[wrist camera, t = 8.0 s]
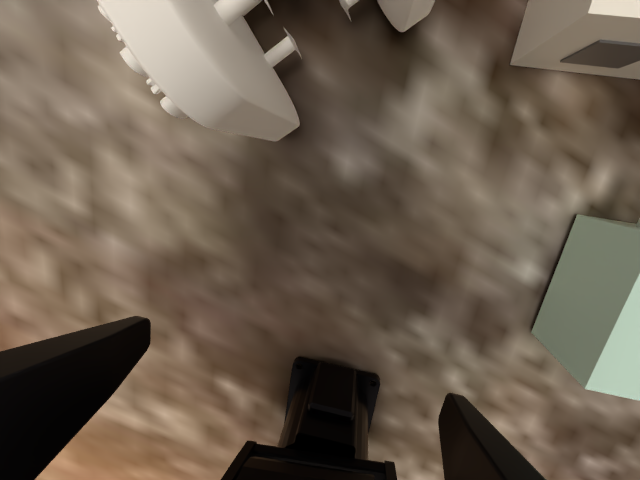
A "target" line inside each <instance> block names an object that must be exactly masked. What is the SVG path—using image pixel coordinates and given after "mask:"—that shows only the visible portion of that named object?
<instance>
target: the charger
mask: <svg viewBox="0 0 640 480" xmlns="http://www.w3.org/2000/svg"><path fill="white" fill-rule="evenodd" d="M531 333H532V334H533V335H534V336H535V337H536V338H537V339H538V340H539V341H540V342H541V343H542V344H543V345H544V346H545V347H546V348H547V350H548V351H549V352H550V353H551V354H552V355H553V356H554V357H555V358H556V359H557V360H558V361H559V362H560V363H561V364H562V365H563V366H564V367H565V369H566V370H567V371H568V372H569V373H570V374H571V375H572V376H573V377H574V378H575V379H576V380H577V381H578V382H579V383H580V384H581V385H582V387H583V388H584V389H588V390H593V391H597V392H602V393H606V394H611V395H616V396H620V397H625V398H629V399H634V400H639V401H640V218H639V220H638V222H637V224H635V223H629V222H622V221H616V220H610V219H604V218H597V217H591V216H585V215H578V214H577V216H576V219H575V222H574V224H573V227H572V229H571V232H570V234H569V237H568V239H567V242H566V245H565V247H564V250H563V252H562V255H561V257H560V260H559V262H558V265H557V268H556V270H555V273H554V275H553V278H552V280H551V283H550V285H549V288H548V291H547V293H546V296H545V298H544V301H543V303H542V306H541V309H540V311H539V314H538V316H537V319H536V321H535V324H534V326H533V329H532V332H531Z"/></svg>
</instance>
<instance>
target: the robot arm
mask: <svg viewBox="0 0 640 480" xmlns="http://www.w3.org/2000/svg"><path fill="white" fill-rule="evenodd" d="M150 329H151V323H150V320H149V319H148V318H144V317H140V316H133V317H129V318H126V319H122V320H118V321H114V322H111V323H107V324H103V325H99V326H95V327H92V328H88V329H84V330H80V331H76V332H73V333H69V334H65V335H61V336H58V337H54V338H50V339H46V340H42V341H39V342H35V343H31V344H27V345H24V346H20V347H16V348H12V349H8V350H5V351H1V352H0V480H35V478H36V477H37V476H38V475H39V474H40V473H41V472H42V471H43V470H44V469H45V468H46V467H47V465H48V464H49V463H50V462H51V461H52V460H53V459H54V458H55V457H56V456H57V455H58V453H59V452H60V451H61V450H62V449H63V448H64V447H65V446H66V445H67V444H68V443H69V442H70V440H71V439H72V438H73V437H74V436H75V435H76V434H77V433H78V432H79V431H80V430H81V428H82V427H83V426H84V425H85V424H86V423H87V422H88V421H89V420H90V419H91V418H92V417H93V415H94V414H95V413H96V412H97V411H98V410H99V409H100V408H101V407H102V406H103V405H104V403H105V402H106V401H107V400H108V399H109V398H110V397H111V396H112V394H113V393H114V392H115V391H116V390H117V388H118V387H119V386H120V385H121V383H122V382H123V381H124V379H125V378H126V377H127V375H128V374H129V373H130V372H131V370H132V369H133V368H134V366H135V365H136V364H137V363H138V361H139V360H140V359H141V357H142V356H143V355H144V353H145V352H146V351H147V349H148V347H149V345H150ZM298 364H301V365H302V366H299V365H298ZM370 381H376V382H374V383H372V382H370ZM379 387H380V378H379V377H378V376H377V375H375V374H372V373H367V372H363V371H359V370H354V369H350V368H346V367H341V366H337V365H333V364H328V363H324V362H319V361H315V360H310V359H306V358H301V357H298V358H296V359H295V360H294V363H293V367H292V374H291V381H290V388H289V395H288V402H287V409H286V416H285V424H284V427H283V430H282V433H281V437H280V440H279V443H278V446H277V447H275V446H269V445H262V444H257V442H255V441H247V442H246V443H245V445H244V446H243V448H242V449H241V451H240V452H239V453H238V455H237V456H236V458H235V459H234V461H233V462H232V464H231V465H230V467H229V468H228V470H227V471H226V473H225V474H224V476H223V477H222V479H221V480H397V476H396V470H395V464H394V462H391V461H384V463H383V462H377V461H370V460H368V432H369V428H370V424H371V420H372V416H373V412H374V407H375V403H376V399H377V395H378V391H379ZM438 424H439V434H440V443H441V451H442V460H443V469H444V478H445V480H546V479H545V478H544V477H543V476H542V475H541V474H540V473H539V472H538V471H537V470H536V469H535V468H534V467H533V466H532V465H531V464H530V463H529V462H528V461H527V460H526V459H525V458H524V457H523V456H522V455H521V454H520V453H519V452H518V451H517V450H516V449H515V448H514V447H513V446H512V445H511V444H510V443H509V441H508V440H507V439H506V438H505V437H504V436H503V435H502V434H501V433H500V432H499V431H498V430H497V429H496V428H495V427H494V426H493V425H492V424H491V423H490V422H489V421H488V420H487V419H486V418H485V417H484V416H483V415H482V414H481V413H480V412H479V411H478V410H477V409H476V408H475V407H474V406H473V405H472V404H471V403H470V402H469V401H468V400H467V399H466V398H465V397H464V396H462V395H458V394H453V393H448V394H447V395H446V397H445V400H444V403H443V406H442V409H441V412H440V415H439V421H438Z"/></svg>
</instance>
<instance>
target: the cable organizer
mask: <svg viewBox="0 0 640 480" xmlns="http://www.w3.org/2000/svg"><path fill="white" fill-rule="evenodd" d="M261 1H262V0H97V2H98V3H99V6H98V9H99V11H100V12H101V13H102V14H103V16H104V17H105V18H107V19H108V20H109V21H110V22H111V23H112V25H113V26H112V27H111V28H112V30H113V31H114V32H116V33H118V34H117V35H116V37H117V38H118V40H119V41H121V42H124V43H125V45H126V47H125V48H124V49H123V50H122V51H121V52H119V53H120V54H121V56H122V57H123V59H124V60H125V62H126V63H127V64H128V66H129V67H130V68H131V69H133V70H134V71H135V72H137V73H138V74H140V75H142V76H145V77H150V78H149V79H148V80H147V81H146V82H147V84H148V85H151V86H152V87H151V90H152V92H153V93H154V94H158V93H160V92H161V91H162V92H163V93H164V94H165V95H166V96H165V97H164V98H163V99H162V100H161V101H160V104H161V106H162V107H163V108H164V110H165V111H167V112H168V113H169V114H171V115H172V116H175V117H177V118H180V119H187V118H188V117H190V118H191V119H192V120H194V121H195V122H197V123H198V124H200V125H202V126H204V127H206V128H209V129H213V130H218V131H223V132H228V133H233V134H239V135H244V136H249V137H254V138H259V139H265V140H270V141H275V142H276V141H279V140H280V139H281V138H283V137H284V136H286V135H287V134H289V133H290V132H292V131H293V130H295V129H296V128H297V127H299V125H300V121H299V117H298V114H297V112H296V109H295V107H294V105H293V103H292V101H291V99H290V97H289V95H288V93H287V91H286V89H285V87H284V86H283V84H282V82H281V81H280V79H279V77H278V75H277V74H276V72H275V70H274V69H273V67H274V66H275V65H276V64H278V63H279V62H280V61H282V60H283V59H284V58H285V57H287V56H288V55H289V54H291V53H292V52H293V51H294V50H296V51H297V52H298V53H299V55H300V52H299V49H298V47H297V44H296V42H295V40H294V39H293V37H292V36H291V35H290V34H289V33H288V31H287V30H286V29H285V28H284V30H285V32H286V33H287V35H288V36H287V37H285V38H284V39H283V40H282V41H280V42H279V43H278V44H277V45H275V46H274V47H273V48H272V49H270V50H269V51H268V52H267V53H264V51H263V50H262V48H261V46H260V44H259V43H258V41H257V39H256V38H255V36H254V34H253V32H252V31H251V29H250V27H249V26H248V24H247V22H246V20H245V19H244V17H243V16H244V15H246V14H247V13H248V12H250V11H251V10H252V9H253V8H254V7H255V6H257V5H258V4H259V3H260V2H261ZM264 1H265V3H266V4H267V6H268V8H269V9H270V11H271V13H272V10H271V8H270V6H269V3H268V1H267V0H264ZM339 1H340V4H341V6H342V8H343V9H344V10H345V12H346V14H347V15H348V17H349V19H350V15H349V12H348V9H349V8H350V7H351V6H353V5H354V4H355V3H357V2H358V1H359V0H339ZM377 2H378V4H379V5H380V7H381V9H382V11H383V12H384V14H385V16H386V17H387V19H388V20H389V21H390V23H391V24H392V25H393V26H394V27H395V28H396V29H397V30H398V31H399V32H405V31H406V30H407V29H409V28H410V27H412V26H413V25H415V24H416V23H417V22H419V21H420V20H422V19H423V18H424V17H426V16H427V15H428V14H429V13H430V11H431V9H432V6H433V4H434V2H435V0H377ZM272 14H273V13H272ZM273 16H274V15H273ZM350 20H351V19H350ZM283 27H284V26H283ZM300 57H301V55H300ZM301 58H302V57H301Z"/></svg>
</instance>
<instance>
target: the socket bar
mask: <svg viewBox="0 0 640 480" xmlns="http://www.w3.org/2000/svg"><path fill="white" fill-rule="evenodd" d="M510 65H514V66H522V67H531V68H540V69H549V70H558V71H567V72H576V73H585V74H593V75H602V76H611V77H620V78H629V79H638V80H640V0H528V3H527V7H526V10H525V14H524V17H523V21H522V24H521V27H520V31H519V34H518V38H517V41H516V45H515V48H514V52H513V55H512V59H511V62H510Z"/></svg>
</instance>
